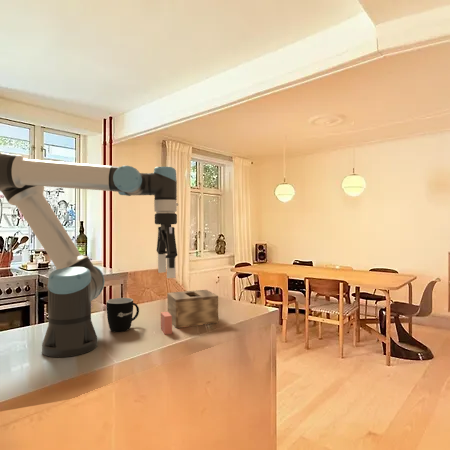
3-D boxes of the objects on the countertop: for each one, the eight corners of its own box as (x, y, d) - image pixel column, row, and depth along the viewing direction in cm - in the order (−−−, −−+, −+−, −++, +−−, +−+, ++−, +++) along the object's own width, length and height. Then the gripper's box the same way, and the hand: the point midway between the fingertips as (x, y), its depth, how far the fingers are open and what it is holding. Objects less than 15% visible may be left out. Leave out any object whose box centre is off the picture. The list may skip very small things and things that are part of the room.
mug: (115, 335, 118) (115, 304, 118) (101, 329, 125) (101, 300, 124) (145, 327, 127) (145, 298, 127) (131, 322, 133) (131, 295, 133)
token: (164, 334, 119) (164, 316, 119) (160, 329, 125) (160, 312, 125) (172, 333, 120) (171, 315, 120) (167, 328, 126) (167, 311, 126)
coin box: (175, 327, 126) (175, 299, 126) (167, 318, 138) (167, 292, 138) (218, 322, 132) (218, 295, 132) (206, 314, 144) (206, 289, 144)
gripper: (186, 211, 112) (187, 279, 112) (168, 213, 135) (168, 269, 135) (162, 211, 109) (163, 281, 109) (148, 213, 132) (148, 271, 132)
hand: (166, 275), depth 122 cm, fingers open, 13 cm apart
